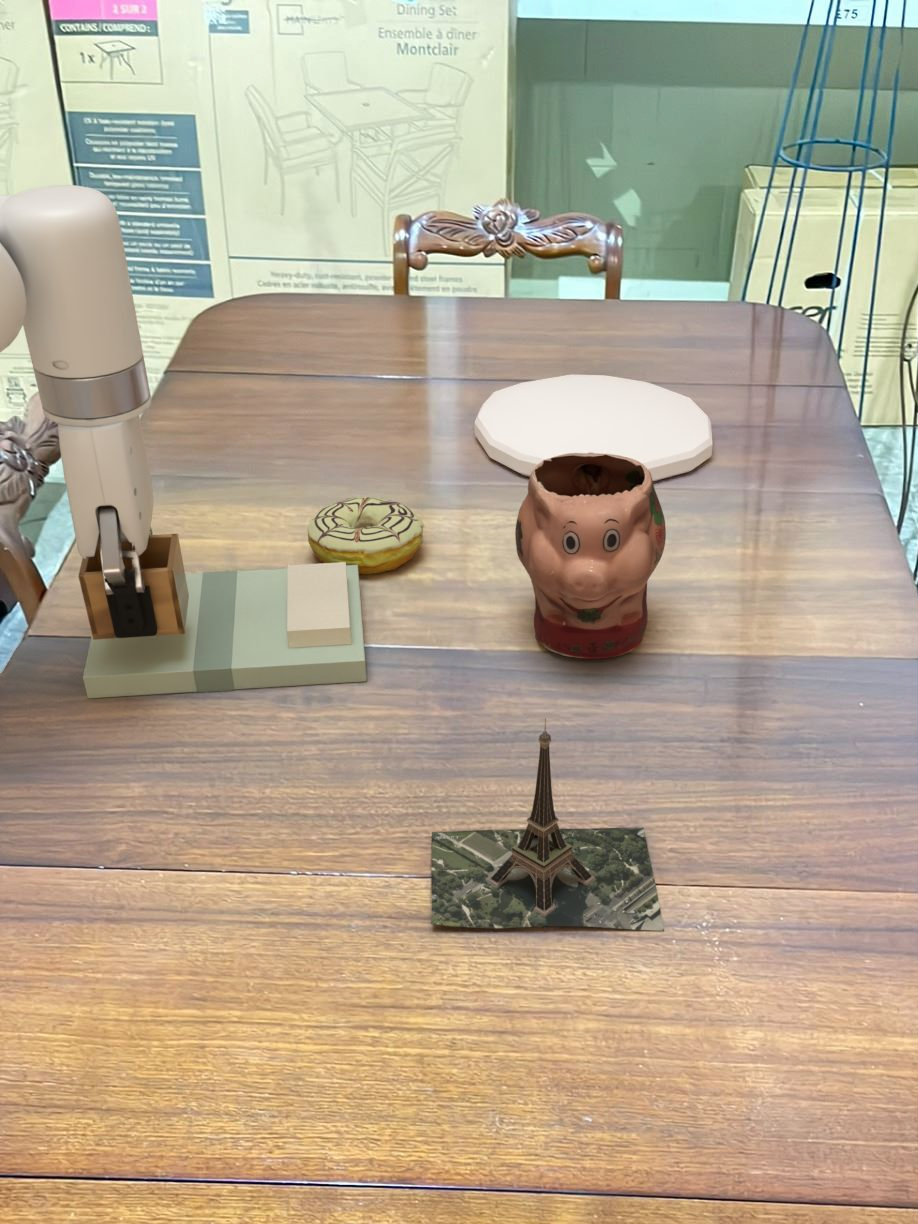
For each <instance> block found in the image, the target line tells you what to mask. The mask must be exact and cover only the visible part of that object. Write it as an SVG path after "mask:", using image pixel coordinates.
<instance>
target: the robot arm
mask: <svg viewBox="0 0 918 1224" xmlns="http://www.w3.org/2000/svg"><path fill="white" fill-rule="evenodd" d="M124 244H125V243H124V238H123V234H122V228H121V223H120V218H119V215H118V212H117V209H116V207H115V205H114V203H113V202H112V200H110V198H109V197H108V196H107V195H106V194H105V193H103V192H101V191H99V190H97V189H95V188H92V187H87V186H83V185H75V184H55V185H54V184H53V185H44V186H39V187H38V186H37V187H33V188H29V189H26V190H22V191H20V192H18V193H15V194H0V353H1V352H3V351H4V350H6V349H8V348H9V347H10V346H11V344H12V343H14V341H15V339H16V338H17V337H18V336H19V333H20V332H21V330H22V327H23V331H24V336H25V339H26V343H27V348H28V352H29V356H30V361H31V364H32V369H33V374H34V378H35V382H36V386H37V390H38V394H39V399H40V403H41V409H42V412H43V415H44V416H45V417H46V418H47V420H49V421H51V422H54V423H56V424H57V432H58V442H59V452H60V459H61V465H62V471H63V477H64V483H65V488H66V495H67V500H68V505H69V510H70V515H71V520H72V527H73V531H74V537H75V542H76V547H77V552H78V554H79V556H80V557H81V558H84V559H89V558H90V557H94V555H95V551H96V547H97V542H99V549H100V557H101V563H102V570H103V577H104V584H105V593H106V598H107V602H108V607H109V611H110V616H111V620H112V625H113V629H114V633H115V636H116V637H118V638H130V637H146V636H155V635H156V634H157V623H156V618H155V613H154V608H153V603H152V598H151V593H150V588H149V586H145V585H144V577H143V570H142V562H141V554H142V553H143V552H144V551H145V550H146V548H147V544H148V539H149V535H154V534H153V528H152V521H153V515H154V514H153V513H154V491H153V482H152V476H151V468H150V463H149V457H148V452H147V447H146V446H147V445H146V442H145V436H144V431H143V427H142V421H141V417H140V415H142V414H144V413H145V412H146V411H147V410H149V409H150V407H151V405H152V401H153V400H152V395H151V390H150V385H149V379H148V373H147V368H146V362H145V357H144V352H143V343H142V340H141V334H140V329H139V323H138V318H137V312H136V307H135V306H136V305H135V301H134V296H133V295H134V294H133V289H132V284H131V279H130V273H129V267H128V262H127V256H126V255H127V254H126V250H125V245H124ZM128 541H129V542H130V543H132V549H122V547H121V542H128ZM129 558H131V559H132V566H133V572H131V570H130V569H129V568H127V569H125V566H124V564H123V559H129ZM133 573H134V575H133Z"/></svg>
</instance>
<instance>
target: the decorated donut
mask: <svg viewBox="0 0 918 1224" xmlns="http://www.w3.org/2000/svg"><path fill="white" fill-rule="evenodd" d="M308 524H309V525H308V526H307V541H308V544H309V547H310V548H311V550H312V552H313V555H315V556H316V557H317V559H318V560H319V561H320V562H322V563H339V562H346V565H358V574H359V575H371V574H380V573H384V572H385V573H386V572H387V571H395V570H396V569H398V568H399V567H401V566H402V565H404V564H405V563H406V562H408V561H410V560H411V559H412V558H413V557H414V556H415V554H416V552H417V551H418V549H419V547H420V545H421V544H422V541H423V537H424V534H423V533H424V529H423V528H424V527H425V524H424V522H423V520H421V518H420V517H419V515H418V514H417V513H416V512H414V511H413V510H412V509H411V508H409V507H408V506H406V505H405V504H402V503H401V502H398V501H393V500H389V499H385V498H381V497H369V496H355V497H354V496H353V497H348V498H346V499H343V500H340V501H337V502H335V503H333V504H331V505H329V506H326V507H323V508H322V509H320V510H319V511H318V512H316V513H315V515H313V517H312V518H311V519H310V520H309V523H308Z"/></svg>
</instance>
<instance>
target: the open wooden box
mask: <svg viewBox="0 0 918 1224" xmlns="http://www.w3.org/2000/svg"><path fill="white" fill-rule="evenodd" d="M121 547H122V549H132V543H130V542H129V541H128V542H121ZM141 562H142V570H143V577H144V585H145V586H149V588H150V593H151V598H152V603H153V608H154V613H155V618H156V623H157V634H156V635H155V636H159V635H175V634H185V627H186V618H187V609H188V600H189V593H188V588H187V582H186V576H185V574H186V571H185V565H184V560H183V553H182V548H181V544H180V538H179V533H164V534H153V535H149V539H148V544H147V548H146V550H145V551H144V552H143V553H142V554H141ZM123 564H124V566H125V569H127V568H129V569H130V570H131V572H133V566H132V559H131V558H129V559H123ZM133 575H134V573H133ZM77 577H78V580H79V584H80V588H81V589H80V590H81V594H82V597H83V602H84V606H85V611H86V614H87V618H88V623H89V627H90V632H91V636H93V639H94V640H96V639H112V638H118V637H116V636H115V633H114V629H113V625H112V620H111V616H110V611H109V607H108V602H107V598H106V593H105V584H104V577H103V570H102V563H101V557H100V549H99V542H97V547H96V551H95V555H94V557H90V558H89V559H84V558H83V557H81V563H80V567H79V572H78V576H77Z"/></svg>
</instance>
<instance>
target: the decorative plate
mask: <svg viewBox="0 0 918 1224" xmlns="http://www.w3.org/2000/svg"><path fill="white" fill-rule="evenodd" d="M712 432H713V431H712V422H711V419H710V417H709V416H708V415H707V414H706V413H705V412H704V411H703V410H702V409H701V408H700V407H699V406H698V405H697V403H696V402H695V401H693V400H692V398H690V397H689V396H686V395H683V394H680V393H678V392H675V391H673V390H670V389H667V388H665V387H662V386H659V385H657V384H653V383H651V382H648V381H643V380H636V379H632V378H631V379H629V378H624V377H619V376H611V375H606V374H605V375H602V374H597V375H596V374H573V373H571V374H567V375H559V376H554V377H547V378H541V379H536V380H530V381H524V382H519V383H517V384H514V385H510V386H507V387H504V388H501V389H498V390H495V391H493V392H492V393H491V395H490V396H489V397H488V398H487V399H486V400H485V401H484V402H483V404H482V405H481V407H480V408H479V411H478V413H477V415H476V418H475V420H474V436H475V438H476V439H477V440H478V442H479V443H480V445H481V447H482V448H483V450H484V451H485V453H486V454H487V456H488V457H489V458H490V459H492V460H494V461H495V462H498V463H499V464H501V465H503V466H505V467H507V468H508V469H510V470H512V471H515V472H517V473H519V474H520V475H522V476H525V477H529V478H530V475H531V472H532V471H533V469H534V468H535V466H537V465H538V464H539V463H540V462H542V461H543V460H545V459H549V458H552V457H556V456H559V455H563V454H568V453H600V454H612V455H619V456H623V457H627V458H631V459H634V460H637V461H639V462H640V463H642V464H643V465H644V466H645V467H646V468H647V469H648V470H649V472H650V474H651V477H652V480H653V482H656V481H660V480H663V479H668V478H672V477H675V476H679V475H682V474H687V473H689V472H691V471H693V470H694V469H696V468H697V467H698V466H700V465H701V464H703V463H704V462H706V461H707V460H708V459H710V458H711V457H712V453H713V446H714V445H713V434H712Z"/></svg>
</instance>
